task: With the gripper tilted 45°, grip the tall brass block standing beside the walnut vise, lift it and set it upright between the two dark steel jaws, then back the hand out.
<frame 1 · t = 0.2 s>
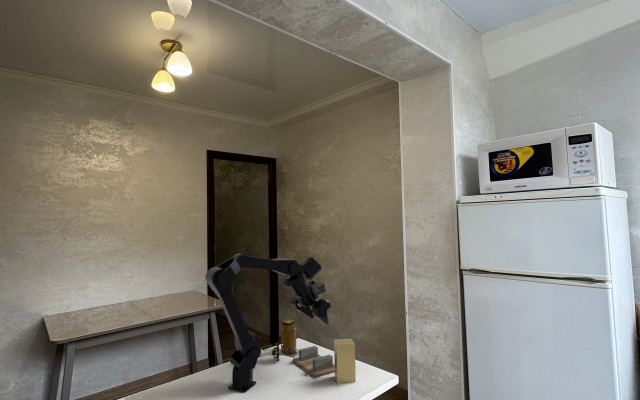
hand: (320, 320, 121), 15 cm above the table, tool tilted 35°, fingers open, 9 cm apart
vise: (315, 365, 116), on the table
valve: (262, 362, 120), on the table
brass block: (344, 379, 106), on the table
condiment: (290, 352, 129), on the table
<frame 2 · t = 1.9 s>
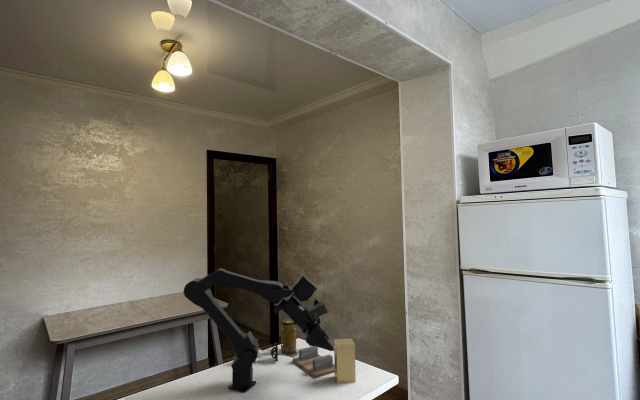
hand: (330, 344, 106), 11 cm above the table, tool tilted 45°, fingers open, 9 cm apart
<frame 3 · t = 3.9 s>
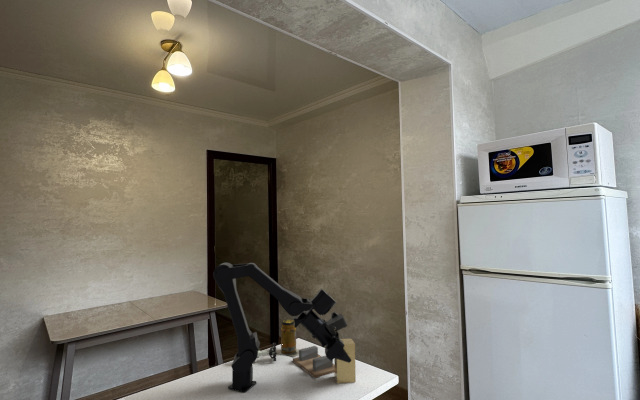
hand: (348, 358, 107), 7 cm above the table, tool tilted 45°, fingers closed on brass block, 5 cm apart
brass block: (344, 379, 106), on the table, touching gripper
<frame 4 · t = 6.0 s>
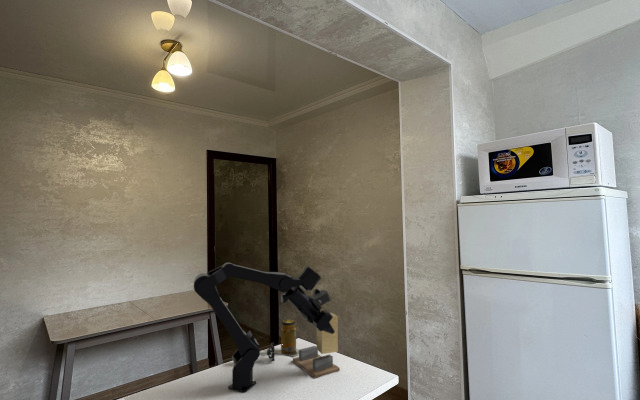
hand: (330, 330, 114), 13 cm above the table, tool tilted 45°, fingers closed on brass block, 5 cm apart
brass block: (327, 350, 113), point 7 cm above the table, touching gripper
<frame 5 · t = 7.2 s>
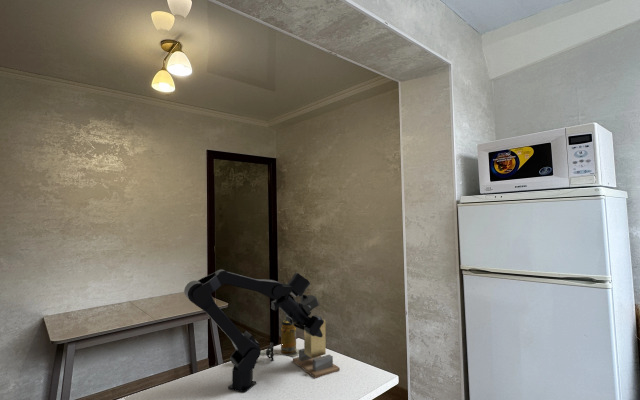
hand: (318, 334, 118), 11 cm above the table, tool tilted 45°, fingers closed on brass block, 5 cm apart
brass block: (314, 353, 116), point 4 cm above the table, touching gripper
when the fingers open (9 cm above the table, at t = 8.0 s): brass block drops 1 cm, resting on vise.
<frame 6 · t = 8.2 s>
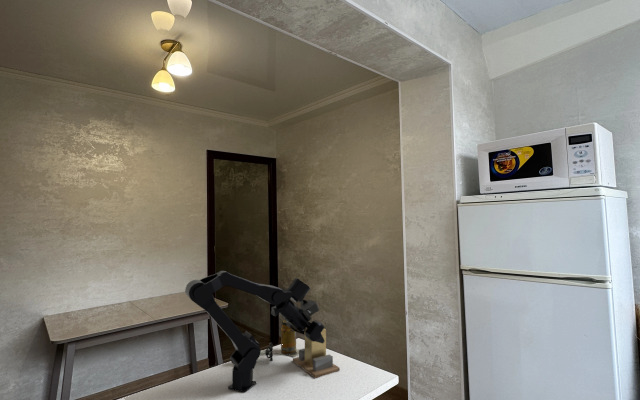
hand: (318, 339, 118), 9 cm above the table, tool tilted 45°, fingers open, 7 cm apart
brass block: (315, 362, 116), point 1 cm above the table, touching vise
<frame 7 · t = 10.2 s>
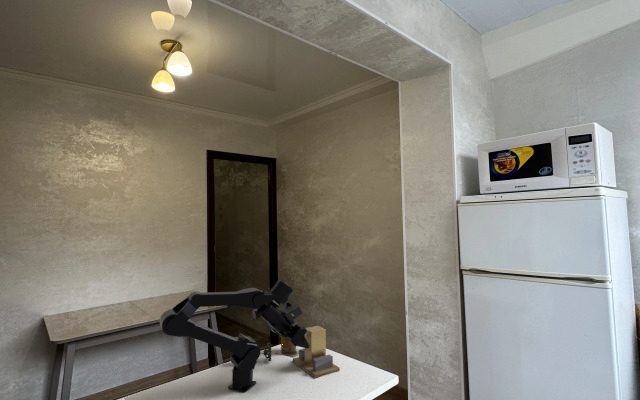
hand: (302, 343, 114), 9 cm above the table, tool tilted 45°, fingers open, 9 cm apart
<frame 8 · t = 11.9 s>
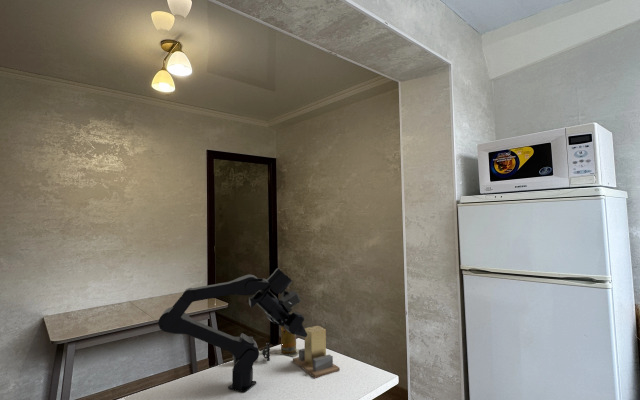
hand: (299, 332, 112), 14 cm above the table, tool tilted 45°, fingers open, 9 cm apart
at the end: brass block 0.0 cm off-centre on the vise, point 1.0 cm above the vise's base; brass block tilted 0°; the gripper is holding nothing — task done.
